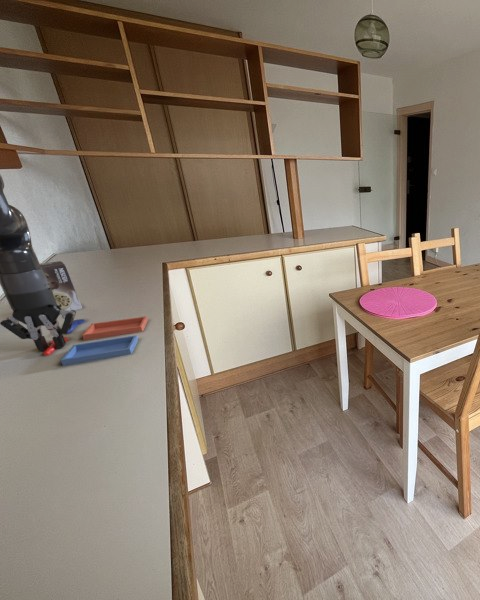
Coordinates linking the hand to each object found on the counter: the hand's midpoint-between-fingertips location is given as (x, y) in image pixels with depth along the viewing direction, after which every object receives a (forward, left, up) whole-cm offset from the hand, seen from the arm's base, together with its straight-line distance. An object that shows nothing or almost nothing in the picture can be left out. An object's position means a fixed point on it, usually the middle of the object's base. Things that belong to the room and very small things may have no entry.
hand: (53, 348), depth 83 cm
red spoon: (0, +1, 0) cm, 1 cm away
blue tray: (+12, -8, 0) cm, 14 cm away
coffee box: (-8, +32, 0) cm, 33 cm away
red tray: (+12, +6, 0) cm, 14 cm away
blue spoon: (0, +14, 0) cm, 14 cm away
